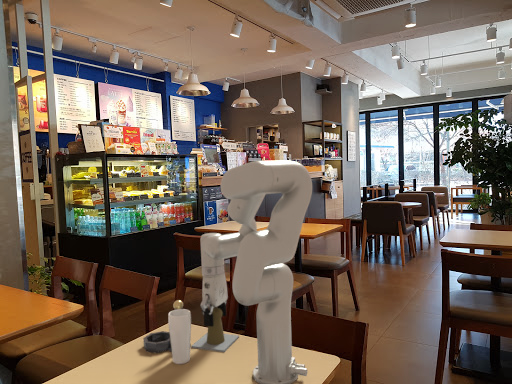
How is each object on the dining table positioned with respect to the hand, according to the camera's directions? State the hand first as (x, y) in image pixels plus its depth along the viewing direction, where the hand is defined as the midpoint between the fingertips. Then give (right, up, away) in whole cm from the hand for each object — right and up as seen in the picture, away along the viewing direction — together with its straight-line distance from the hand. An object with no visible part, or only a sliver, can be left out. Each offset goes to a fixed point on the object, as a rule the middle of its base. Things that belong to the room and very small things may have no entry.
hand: (215, 320), depth 132 cm
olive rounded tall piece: (0, -7, 0) cm, 7 cm away
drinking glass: (-9, -9, -12) cm, 17 cm away
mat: (0, -8, +1) cm, 8 cm away
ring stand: (-16, -8, -2) cm, 18 cm away
